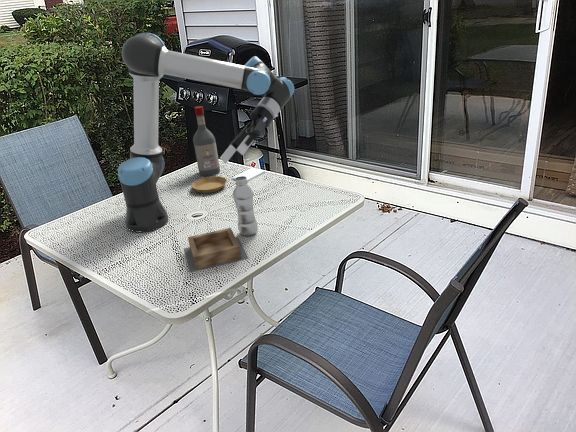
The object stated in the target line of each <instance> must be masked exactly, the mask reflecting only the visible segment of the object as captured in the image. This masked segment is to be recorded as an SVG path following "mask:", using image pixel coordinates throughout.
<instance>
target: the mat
mask: <svg viewBox="0 0 576 432" xmlns="http://www.w3.org/2000/svg"><path fill="white" fill-rule="evenodd" d="M235 238H236V240H237V242H238V244H239V246H240V250H241V257H242V259H238V260H234V261H229V262H225V263H221V264H217V265H212V266H208V267H204V268H200V269H196V267H195V264H194V260H193V257H192V253H191V250H190V246H189V247H185V248H183V251H184V255H185V259H186V263H187V265H188V271H189V273H195V272H198V271H203V270H206V269H212V268H215V267H220V266H224V265H228V264H233V263H237V262H242V261H245V260H249V259H250V258H249V256H248V254H247V252H246V250H245V248H244V247H243V244H242V243H241V241H240V238H239V237H238V236H235Z"/></svg>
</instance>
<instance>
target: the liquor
mask: <svg viewBox="0 0 576 432" xmlns="http://www.w3.org/2000/svg"><path fill="white" fill-rule="evenodd" d="M194 113H195V114H194V115H196V121H197V130H196V132H195V133H194V134H193V137H192V142H193V146H194V153H195V157H196V164H197V169H198V173H199V175H200V176H201V177H211V176H217V175H218V174H220V172H221V168H220V161H219V155H218V148H217V143H216V137H215V136H214V134H213V133H212V132H211V131H210V130H209V129H208V128H207V127H206V120H205V115H204V114H205V112H204V106H203V105H199V106H195V107H194Z"/></svg>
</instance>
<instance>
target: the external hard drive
mask: <svg viewBox="0 0 576 432" xmlns="http://www.w3.org/2000/svg"><path fill="white" fill-rule="evenodd" d="M263 174H266V172H265V170H263V169H259V168H253V167H251V168H249V169H247V170H244V171H243V172H241V173H239V174H237V175H235V176H233V177H232V180H233V181H235V178H237V177H240V176H245V177H246V178H247V183H248V182H250V181H252V180H254V179H255V178H258V177H259V176H262V175H263Z"/></svg>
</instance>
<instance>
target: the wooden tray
mask: <svg viewBox="0 0 576 432" xmlns="http://www.w3.org/2000/svg"><path fill="white" fill-rule="evenodd" d="M235 237H236V236H235V233H234V231H233V230H232V228H231V227H227V228H224V229H218V230H213V231H210V232H209V231H208V232H204V233H200V234H196V235H191V236H188V237H187V239H188V240H187V241H188V244H189V245H188V246H189V247H190V250H191V253H192V257H193V260H194V264H195V267H196V269H200V268H204V267H208V266H212V265H217V264H221V263H225V262H229V261H234V260H238V259H242V257H241V250H240V246H239V244H238V242H237V240H236V238H235Z"/></svg>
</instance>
